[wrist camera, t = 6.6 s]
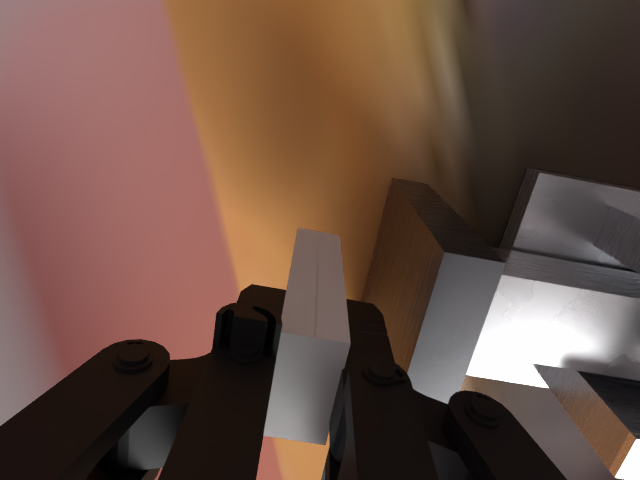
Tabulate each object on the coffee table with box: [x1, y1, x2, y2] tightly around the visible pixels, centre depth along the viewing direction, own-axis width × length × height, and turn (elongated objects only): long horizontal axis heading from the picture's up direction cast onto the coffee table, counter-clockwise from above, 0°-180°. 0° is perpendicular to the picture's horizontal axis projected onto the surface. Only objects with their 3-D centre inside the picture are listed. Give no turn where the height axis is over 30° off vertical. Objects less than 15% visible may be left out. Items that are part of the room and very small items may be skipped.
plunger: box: [362, 178, 640, 404], centre depth 15 cm, size 9×15×8 cm, turn 79°
